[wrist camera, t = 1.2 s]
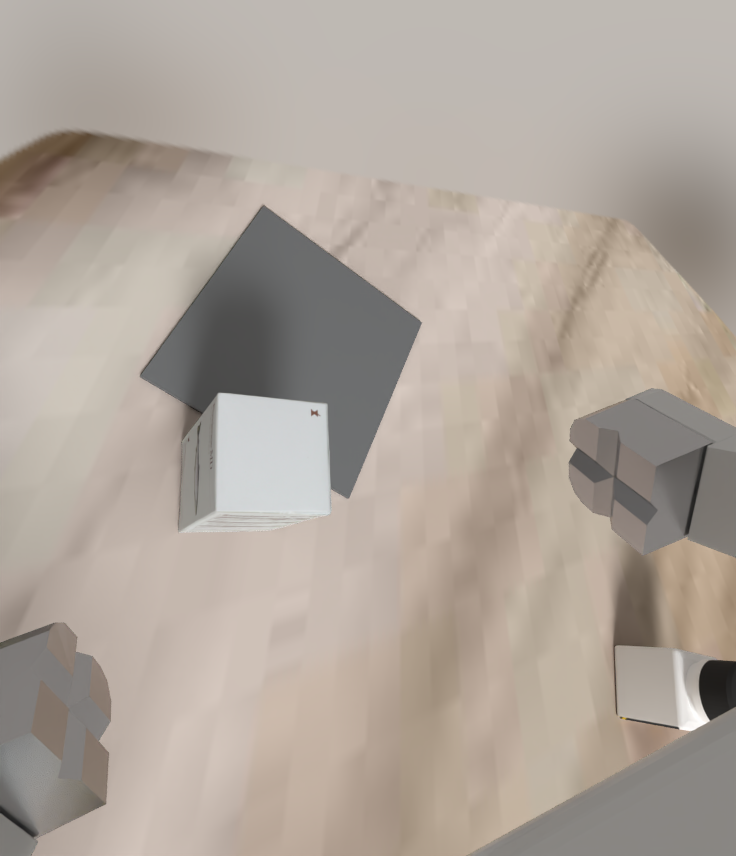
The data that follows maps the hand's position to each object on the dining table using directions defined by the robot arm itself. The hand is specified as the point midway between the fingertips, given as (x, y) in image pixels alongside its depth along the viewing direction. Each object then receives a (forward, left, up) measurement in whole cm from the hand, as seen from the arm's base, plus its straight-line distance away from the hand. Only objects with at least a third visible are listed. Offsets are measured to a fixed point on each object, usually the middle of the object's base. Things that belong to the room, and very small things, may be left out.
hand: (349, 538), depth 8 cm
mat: (+22, +15, -35) cm, 43 cm away
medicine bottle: (+44, -31, -35) cm, 64 cm away
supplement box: (+10, +5, -35) cm, 36 cm away
